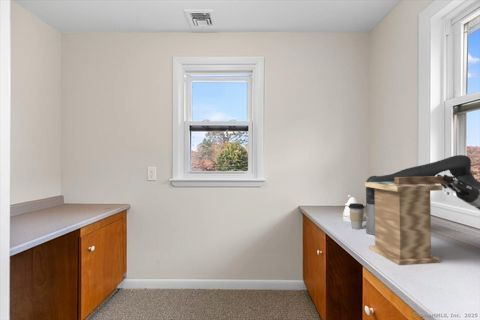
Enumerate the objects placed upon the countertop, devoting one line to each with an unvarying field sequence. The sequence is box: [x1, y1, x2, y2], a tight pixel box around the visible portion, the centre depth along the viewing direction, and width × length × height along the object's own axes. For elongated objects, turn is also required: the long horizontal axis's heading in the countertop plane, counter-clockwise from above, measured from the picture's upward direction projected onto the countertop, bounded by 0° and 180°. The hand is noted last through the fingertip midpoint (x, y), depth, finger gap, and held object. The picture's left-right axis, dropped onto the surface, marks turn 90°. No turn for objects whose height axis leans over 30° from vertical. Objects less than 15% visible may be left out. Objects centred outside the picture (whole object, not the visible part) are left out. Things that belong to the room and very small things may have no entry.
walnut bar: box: [394, 175, 456, 185], centre depth 127 cm, size 26×3×3 cm, turn 97°
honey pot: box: [342, 194, 364, 223], centre depth 206 cm, size 13×13×18 cm
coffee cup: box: [349, 202, 365, 230], centre depth 184 cm, size 9×9×15 cm
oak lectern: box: [364, 181, 443, 266], centre depth 132 cm, size 20×24×32 cm
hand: (440, 176), depth 128 cm, fingers closed on walnut bar, 3 cm apart
